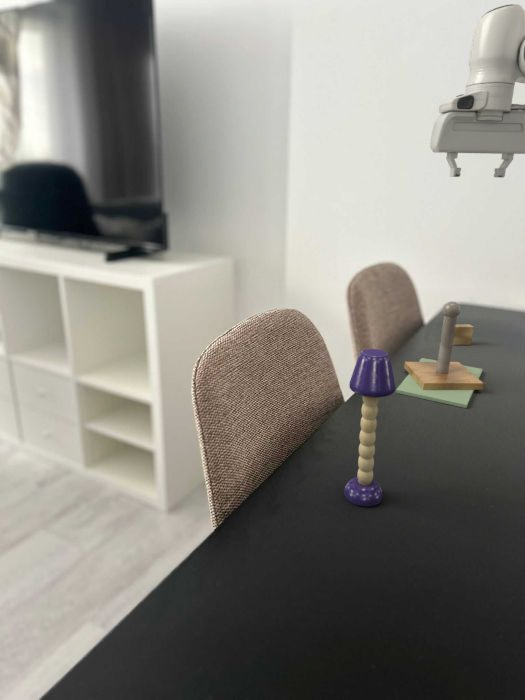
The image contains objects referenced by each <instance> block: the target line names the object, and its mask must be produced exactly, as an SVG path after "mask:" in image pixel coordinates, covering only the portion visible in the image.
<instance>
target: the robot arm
mask: <svg viewBox="0 0 525 700" xmlns="http://www.w3.org/2000/svg"><path fill="white" fill-rule="evenodd" d="M470 45H471V46H470V52H469V59H468V67H469V73H468V74H469V75H468V79H467V81H466V84H465V90H464V93H463V94H459V95H456V96H455V97H452V98H449V99H446V100H444V101H442V102H440V103H439V105H438V113H439V115H438V116H437V117H436V118H435V120H434V123H433V127H432V131H431V136H430V143H429V148H430V149H431V151H432V152H433V153H435V154H436V153H441V154H442V153H443V154H444V153H445V154H446V161H447V164H448V167H449V169H450V171H449V177H450V178H459V177H461V171H462V167H458V165H457V162H456V160H455V159H458V155H459V154H492V155H493V154H495V155H497V154H499V155H501V159H500V160H501V161H502V162H501V164H500V165H499V167H497V168H494V174H493V177H494V178H505V176H506V171H507V168H508V167H509V166H510V165H511V163H512V162H513V160H514V156H515V155H525V104H520V103H513V98H514V92H515V91H514V90H515V84H516V83H521V84H525V9H524V8H523V6H522V5H520V4H512V3H511V4H505V5H500V6H498V7H495V8H493V9H490V10H489V11H487V12H486V13H484V14H483V15H482V16H481V17H480V18H479V20H478V21H477V23H476V25H475V27H474V31H473V35H472V39H471V44H470Z"/></svg>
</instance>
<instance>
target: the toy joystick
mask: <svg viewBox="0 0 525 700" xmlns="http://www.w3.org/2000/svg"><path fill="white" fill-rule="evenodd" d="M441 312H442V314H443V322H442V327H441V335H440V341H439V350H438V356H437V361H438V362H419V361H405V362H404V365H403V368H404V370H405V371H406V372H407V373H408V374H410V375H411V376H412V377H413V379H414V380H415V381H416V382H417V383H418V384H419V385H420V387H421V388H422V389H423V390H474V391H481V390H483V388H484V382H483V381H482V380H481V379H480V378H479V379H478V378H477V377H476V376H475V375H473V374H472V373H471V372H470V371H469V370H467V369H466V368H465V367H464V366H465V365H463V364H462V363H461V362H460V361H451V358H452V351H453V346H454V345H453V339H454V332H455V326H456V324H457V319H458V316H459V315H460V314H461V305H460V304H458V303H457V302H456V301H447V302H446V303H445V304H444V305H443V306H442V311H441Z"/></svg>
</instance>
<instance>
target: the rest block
mask: <svg viewBox="0 0 525 700" xmlns="http://www.w3.org/2000/svg"><path fill="white" fill-rule="evenodd" d="M474 328H475V327H474V326H473V325H471V324H467V323H466V324H464V323H463V324H457V323H456V326H455V332H454V339H453V346H471V345H472V342H473V334H474Z"/></svg>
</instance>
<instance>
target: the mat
mask: <svg viewBox="0 0 525 700" xmlns="http://www.w3.org/2000/svg"><path fill="white" fill-rule="evenodd" d="M418 362H438V360H435V359H430V358H424V357H421V358H420V359H419V361H418ZM463 366H464V367H465V368H466V369H467V370H469V371H470V372H471V373H472V374H473V375H475V376H476V377H477V378H478V379H479V380H480V379H481V377H482V373H483V370H484V369H483V368H479V367H473V366H468V365H463ZM474 393H475V390H423V389H422V388H421V387H420V385H419V384H418V383H417V382H416V381H415V380H414V379H413V377H412V376H411V375H410V374H409V373H408V375H406V377H405V378H404V379H403V381H402V382H401V383H400V384H399V385H398V386H397V388H395V394H401V395H404V396H409V397H414V398H417V399H422V400H427V401H432V402H435V403H441V404H445V405H450V406H454V407H459V408H463V409H467V408H468V406H469V403H470V402H471V400H472V397H473V395H474Z"/></svg>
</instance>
